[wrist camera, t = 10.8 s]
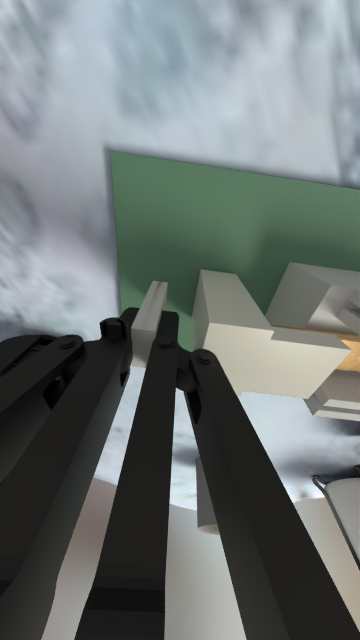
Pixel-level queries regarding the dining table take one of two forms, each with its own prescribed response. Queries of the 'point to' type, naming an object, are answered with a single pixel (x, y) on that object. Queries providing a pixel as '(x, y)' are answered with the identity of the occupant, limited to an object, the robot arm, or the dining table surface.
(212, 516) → the coffee mug
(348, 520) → the coffee press
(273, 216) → the green white block assembly
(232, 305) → the cream white stepped block
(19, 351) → the end cap
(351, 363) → the golden metal bar
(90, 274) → the dining table surface
